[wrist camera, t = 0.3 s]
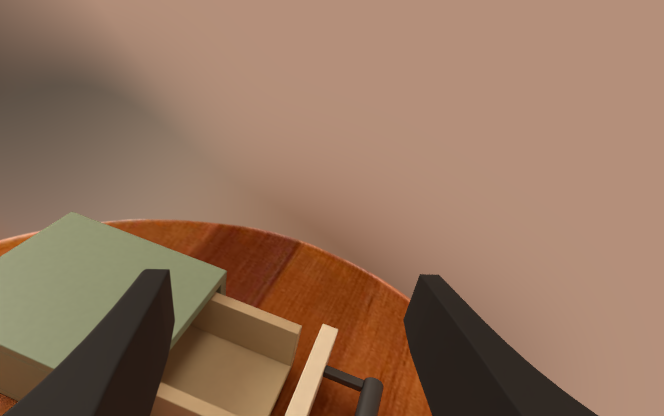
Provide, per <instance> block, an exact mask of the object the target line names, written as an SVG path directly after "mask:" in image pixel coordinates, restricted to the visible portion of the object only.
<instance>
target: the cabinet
mask: <svg viewBox="0 0 664 416" xmlns="http://www.w3.org/2000/svg"><path fill="white" fill-rule="evenodd" d="M145 269H170V278H171V287H172V296H173V306H174V315H175V324H174V329H173V335H172V340H171V345H170V350H171V349H172V347H173V346H174V345H175V343H176V342H177V341H178V340H179V338H180V337H181V336H182V334H183V333H184V332H185V330H186V329H187V328H188V327H189V325H190V324H191V323H192V321H193V320H194V319H195V318H196V316H197V315H198V314H199V312H200V311H201V310H202V309H203V307H204V306H205V305H206V303H207V302H208V301H209V299H210V298H211V297H212V296H213V294H214V293H215V292H217V293H219V294H222V295H224V296H225V294H226V273H227V271H226V270H223V269H221V268H218V267H216V266H213V265H210V264H208V263H205V262H203V261H200V260H197V259H195V258H192V257H189V256H187V255H184V254H182V253H179V252H176V251H174V250H171V249H169V248H166V247H163V246H161V245H158V244H156V243H153V242H150V241H148V240H145V239H142V238H140V237H137V236H135V235H132V234H129V233H127V232H124V231H122V230H119V229H116V228H114V227H111V226H109V225H106V224H103V223H101V222H98V221H95V220H93V219H90V218H88V217H85V216H82V215H80V214H77V213H75V212H70V213H69V214H67V215H66V216H64V217H62V218H61V219H59V220H58V221H56V222H55V223H53V224H51V225H50V226H48V227H47V228H45V229H44V230H42V231H40V232H39V233H37V234H36V235H34V236H32V237H31V238H29V239H28V240H26V241H25V242H23V243H21V244H20V245H18V246H17V247H15V248H14V249H12V250H10V251H9V252H7V253H6V254H4V255H2V256H1V257H0V393H1V394H4V395H6V396H8V397H10V398H12V399H14V400H16V401H18V402H19V401H20V400H21V399H22V398H23V397H24V396H25V395H27V394H28V393H29V392H30V391H31V390H32V389H33V388H34V387H36V386H37V385H38V384H39V383H40V382H41V381H42V380H43V379H44V378H45V377H46V376H47V375H48V374H50V373H51V372H52V371H53V370H54V369H55V368H56V367H57V366H58V365H59V364H60V363H61V362H62V361H63V360H64V359H65V358H66V357H67V356H68V355H69V354H70V353H71V352H72V351H73V350H74V349H75V348H76V347H77V346H78V345H79V344H80V343H81V342H82V341H83V340H84V339H85V338H86V336H87V335H88V334H89V333H90V332H91V331H92V330H93V329H94V328H95V327H96V326H97V324H98V323H99V322H100V321H101V320H102V319H103V318H104V317H105V315H106V314H107V313H108V312H109V311H110V310H111V309H112V308H113V306H114V305H115V304H116V303H117V302H118V300H119V299H120V298H121V297H122V296H123V295H124V293H125V292H126V291H127V290H128V288H129V287H130V286H131V285H132V283H133V282H134V281H135V280H136V278H137V277H138V276H139V275H140V273H141V272H142V271H143V270H145ZM170 350H169V351H170Z"/></svg>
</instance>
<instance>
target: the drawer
mask: <svg viewBox="0 0 664 416" xmlns="http://www.w3.org/2000/svg"><path fill="white" fill-rule="evenodd" d="M301 328H302V326H301V325H298V324H296V323H293V322H291V321H288V320H286V319H283V318H280V317H278V316H275V315H273V314H270V313H268V312H265V311H263V310H260V309H258V308H255V307H252V306H250V305H247V304H245V303H242V302H240V301H237V300H235V299H232V298H230V297H227V296H224V295H222V294H219V293H217V292H215V293H214V294H213V296H212V297H211V298H210V299H209V301H208V302H207V303H206V305H205V306H204V307H203V309H202V310H201V311H200V312H199V314H198V315H197V316H196V318H195V319H194V320H193V321H192V323H191V324H190V325H189V327H188V328H187V329H186V330H185V332H184V333H183V334H182V336H181V337H180V338H179V340H178V341H177V342H176V343H175V345H174V346H173V347H172V349H171V350H170V351H169V356H168V359H167V362H166V366H165V369H164V372H163V376H162V379H161V382H160V385H159V388H158V392H157V395H156V398H155V401H154V404H153V408H152V411H151V414H150V416H270V414H271V412H272V410H273V408H274V406H275V403H276V401H277V399H278V397H279V394H280V392H281V390H282V388H283V385H284V383H285V381H286V379H287V376H288V374H289V372H290V370H291V367H292V365H293V362H294V358H295V354H296V350H297V345H298V341H299V337H300V333H301ZM337 333H338V329H336V328H333V327H330V326H328V325H325V324H322V327H321V329H320V332H319V334H318V337H317V339H316V341H315V344H314V346H313V349H312V351H311V353H310V356H309V358H308V361H307V363H306V365H305V368H304V370H303V373H302V375H301V377H300V380H299V382H298V385H297V387H296V390H295V392H294V394H293V397H292V399H291V402H290V404H289V406H288V409H287V411H286V414H285V416H309V414H310V411H311V408H312V406H313V403H314V400H315V397H316V395H317V392H318V389H319V386H320V384H321V381H322V378H323V377H325V378H328V379H330V380H333V381H335V382H337V383H340V384H342V385H345V386H347V387H350V388H352V389H355V390H357V391H359V392H360V391H361V393H360V397H359V401H358V405H357V408H356V412H355V416H377V415H378V410H379V406H380V401H381V396H382V392H383V384H382V382H381V381H379V380H378V379H376V378H371V377H369V378H366V379H365V380H362V379H360V378H357V377H355V376H352V375H350V374H347V373H345V372H342V371H340V370H337V369H335V368H332V367H330V366H327V364H328V360H329V357H330V354H331V351H332V348H333V345H334V342H335V339H336V336H337Z"/></svg>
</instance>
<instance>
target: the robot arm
mask: <svg viewBox="0 0 664 416" xmlns="http://www.w3.org/2000/svg"><path fill="white" fill-rule="evenodd" d="M174 324H175V315H174V306H173V296H172V287H171V278H170V269H145V270H143V271H142V272H141V273H140V275H139V276H138V277H137V278H136V280H135V281H134V282H133V283H132V285H131V286H130V287H129V288H128V290H127V291H126V292H125V293H124V295H123V296H122V297H121V298H120V299H119V300H118V302H117V303H116V304H115V305H114V306H113V308H112V309H111V310H110V311H109V312H108V313H107V314H106V315H105V317H104V318H103V319H102V320H101V321H100V322H99V323H98V324H97V326H96V327H95V328H94V329H93V330H92V331H91V332H90V333H89V334H88V335H87V336H86V338H85V339H84V340H83V341H82V342H81V343H80V344H79V345H78V346H77V347H76V348H75V349H74V350H73V351H72V352H71V353H70V354H69V355H68V356H67V357H66V358H65V359H64V360H63V361H62V362H61V363H60V364H59V365H58V366H57V367H56V368H55V369H54V370H53V371H52V372H51V373H50V374H48V375H47V376H46V377H45V378H44V379H43V380H42V381H41V382H40V383H39V384H38V385H37V386H36V387H34V388H33V389H32V390H31V391H30V392H29V393H28V394H27V395H25V396H24V397H23V398H22V399H21V400H20V401H19V402H18V403H16V404H15V405H14V406H13V407H12V408H11V409H9V410H8V411H7V412H6V413H5V414H3V415H2V416H150V414H151V411H152V408H153V404H154V401H155V398H156V395H157V392H158V388H159V385H160V382H161V379H162V376H163V372H164V369H165V366H166V362H167V359H168V356H169V350H170V345H171V340H172V335H173V329H174ZM404 325H405V330H406V335H407V340H408V344H409V348H410V353H411V356H412V359H413V362H414V364H415V367H416V370H417V373H418V376H419V379H420V382H421V385H422V387H423V390H424V393H425V396H426V399H427V401H428V404H429V407H430V410H431V413H432V416H598V415H596V414H595V413H594V412H592V411H591V410H589V409H588V408H587V407H585V406H584V405H582V404H581V403H580V402H578V401H577V400H575V399H574V398H573V397H571V396H570V395H569V394H567V393H566V392H565V391H563V390H562V389H561V388H559V387H558V386H557V385H556V384H554V383H553V382H552V381H550V380H549V379H548V378H547V377H546V376H544V375H543V374H542V373H540V372H539V371H538V370H537V369H536V368H534V367H533V366H532V365H531V364H530V363H529V362H527V361H526V360H525V359H524V358H523V357H522V356H521V355H520V354H518V353H517V352H516V351H515V350H514V349H513V348H512V347H511V346H510V345H508V344H507V343H506V342H505V341H504V340H503V339H502V338H501V337H500V336H499V335H498V334H497V333H496V332H495V331H494V330H492V328H490V326H488V325H487V324H486V323H485V322H484V321H483V320H482V319H481V318H480V317H479V316H478V315H477V313H476V312H475V311H474V310H472V308H471V307H470V306H469V305H468V304H467V303H466V302H465V301H464V300H463V299H462V298H461V297H460V296H459V295H458V294H457V293H456V292H455V291H454V290H453V289H452V288H451V287H450V286H449V285H448V284H447V283H446V282H445V281H444V280H443V279H442V278H441V277H440V276H439V275H421V274H420V276H419V278H418V281H417V284H416V287H415V290H414V292H413V295H412V298H411V300H410V303H409V306H408V309H407V311H406V314H405V317H404Z"/></svg>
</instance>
